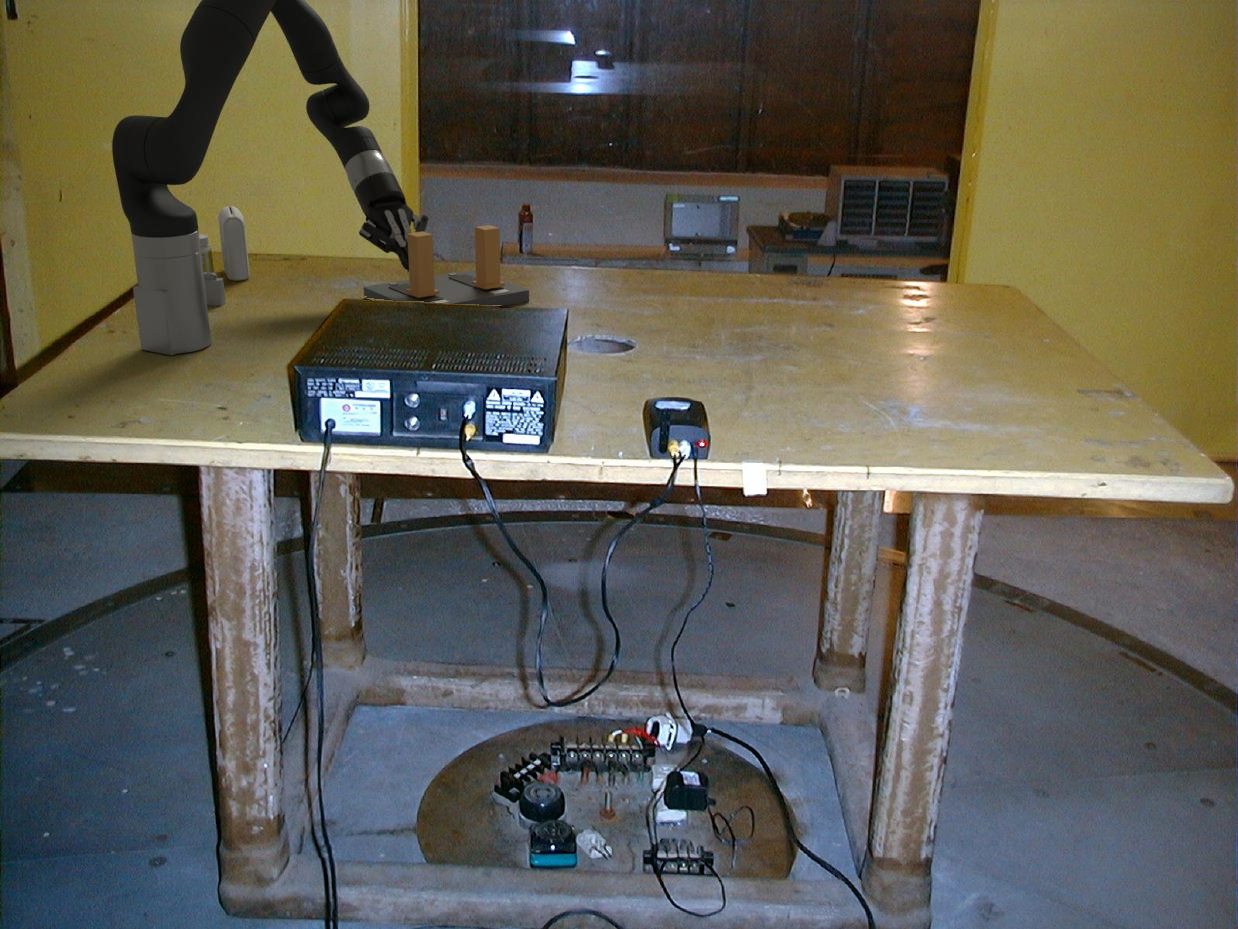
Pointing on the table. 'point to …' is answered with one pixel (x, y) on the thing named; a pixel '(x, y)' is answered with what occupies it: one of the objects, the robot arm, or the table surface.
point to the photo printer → (233, 243)
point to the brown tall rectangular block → (487, 257)
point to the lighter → (214, 289)
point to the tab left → (421, 265)
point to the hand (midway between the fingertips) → (414, 268)
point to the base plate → (452, 291)
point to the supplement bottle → (206, 254)
